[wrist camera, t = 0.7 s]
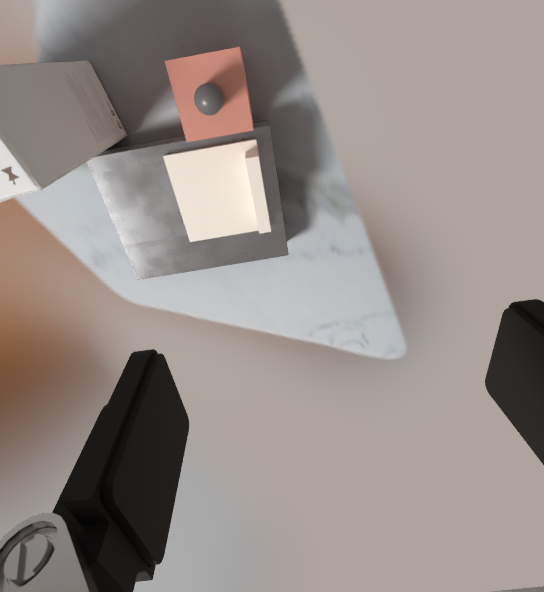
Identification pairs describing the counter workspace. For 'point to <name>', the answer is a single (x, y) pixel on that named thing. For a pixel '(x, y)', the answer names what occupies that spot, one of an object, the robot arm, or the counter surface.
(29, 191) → the skincare box
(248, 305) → the counter surface
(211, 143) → the socket
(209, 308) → the counter surface
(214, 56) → the plug
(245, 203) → the cream stepped block
